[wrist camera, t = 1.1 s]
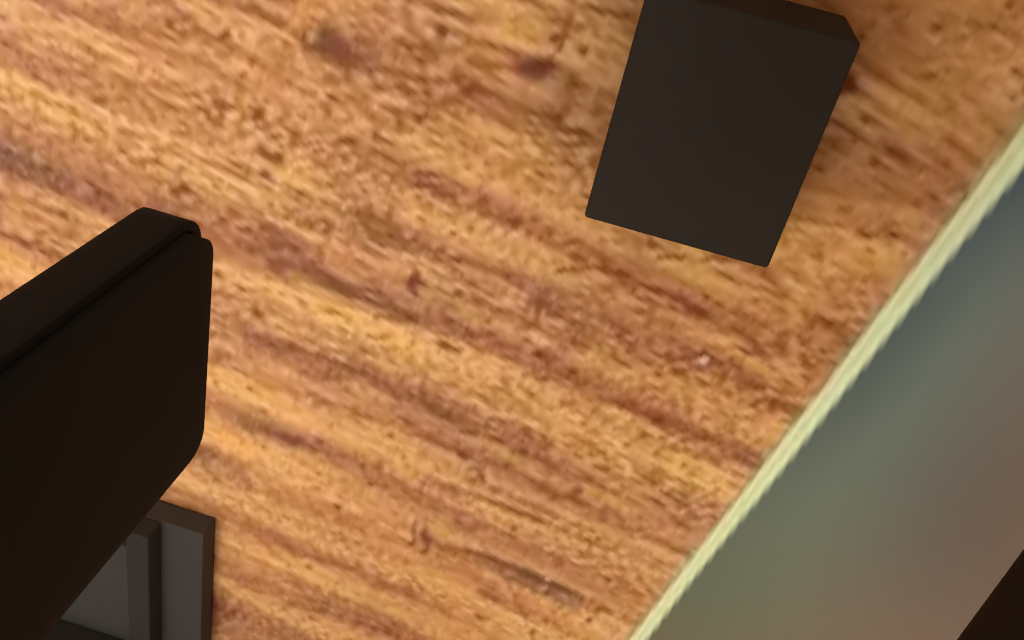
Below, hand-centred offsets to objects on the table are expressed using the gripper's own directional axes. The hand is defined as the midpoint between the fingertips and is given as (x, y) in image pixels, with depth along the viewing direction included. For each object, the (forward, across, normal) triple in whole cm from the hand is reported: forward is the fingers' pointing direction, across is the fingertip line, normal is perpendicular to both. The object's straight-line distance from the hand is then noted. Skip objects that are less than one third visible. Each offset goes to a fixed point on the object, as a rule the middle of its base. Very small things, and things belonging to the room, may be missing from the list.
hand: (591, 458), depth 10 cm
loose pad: (+17, -1, 0) cm, 17 cm away
